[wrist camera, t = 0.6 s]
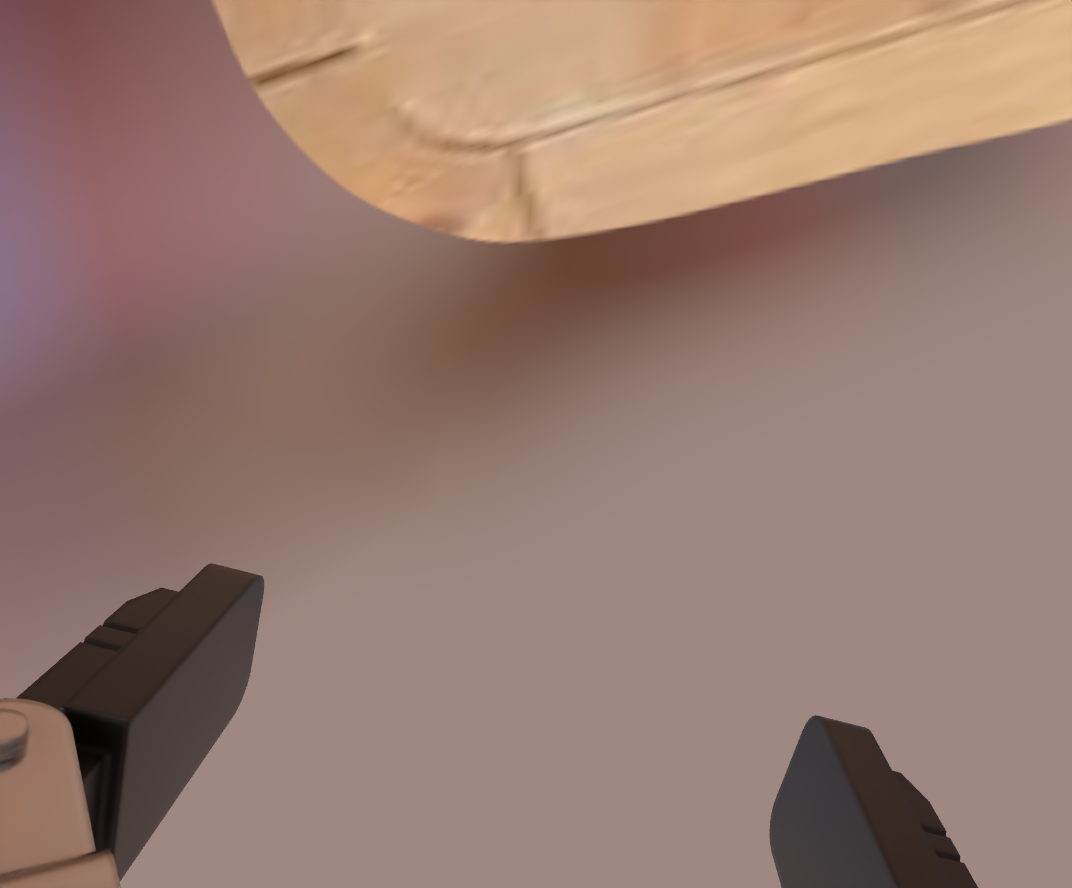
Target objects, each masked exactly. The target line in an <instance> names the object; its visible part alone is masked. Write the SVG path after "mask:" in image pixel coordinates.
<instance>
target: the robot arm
mask: <svg viewBox="0 0 1072 888" xmlns="http://www.w3.org/2000/svg"><path fill="white" fill-rule="evenodd" d="M263 592H264V580H263V577H262V576H260V575H256V574H252V573H248V572H244V571H240V570H236V569H232V568H228V567H224V566H220V565H216V564H208V565H207V566H206V567H204V568H203V569H202V570H201V571H200V572H199V573H198V574H197V575H196V576H195V577H194V578H193V579H192V580H191V581H190V582H189V583H188V584H187V585H186V586H185V587H184V588H183V589H182V590H181V591H180V592H177V591H173V590H169V589H165V588H159V589H157V590H154V591H152V592H149V593H147V594H144V595H142V596H139V597H137V598H134V599H131V600H129V601H127V602H126V603H125V604H123V605H122V606H121V607H120V608H119V609H118V610H117V611H115V612H114V613H113V614H112V615H111V616H110V617H109V618H108V619H106V620H105V621H104V624H103V626H101V625H99V627H97V628H96V629H95V630H94V631H93V632H91V633H90V634H89V635H88V636H87V637H86V638H85V641H84V642H83V643H81V642H80V643H79V644H78V645H76V646H75V647H74V648H73V649H72V650H71V651H70V652H68V653H67V654H66V655H65V656H64V657H63V658H62V659H60V660H59V661H58V662H57V663H56V664H55V665H54V666H53V667H51V668H50V669H49V670H48V671H47V672H46V673H45V674H43V675H42V676H41V677H40V678H39V679H38V680H36V681H35V682H34V683H33V684H32V685H31V686H30V687H28V688H27V689H26V690H25V691H24V692H23V693H22V694H20V695H19V696H18V697H17V698H16V699H6V698H5V699H0V888H121V887H120V881H121V879H122V878H123V876H124V875H125V873H126V872H127V870H128V869H129V867H130V866H131V865H132V863H133V862H134V860H135V859H136V857H137V856H138V854H139V853H140V852H141V850H142V849H143V847H144V846H145V844H146V843H147V841H148V840H149V838H150V837H151V835H152V834H153V833H154V831H155V829H156V828H157V827H158V825H159V824H160V822H161V821H162V819H163V818H164V817H165V815H166V814H167V812H168V811H169V809H170V808H171V806H172V805H173V803H174V802H175V800H176V799H177V798H178V796H179V794H180V793H181V792H182V790H183V789H184V787H185V786H186V784H187V783H188V782H189V780H190V779H191V777H192V776H193V774H194V773H195V771H196V770H197V768H198V767H199V765H200V764H201V762H202V761H203V760H204V758H205V757H206V755H207V754H208V752H209V751H210V749H211V748H212V746H213V745H214V744H215V742H216V741H217V739H218V738H219V736H220V734H221V733H222V732H223V730H224V729H225V727H226V726H227V725H228V723H229V722H230V720H231V719H232V717H233V715H234V714H235V712H236V711H237V709H238V707H239V705H240V702H241V700H242V697H243V695H244V692H245V690H246V686H247V683H248V679H249V676H250V672H251V666H252V660H253V654H254V648H255V642H256V635H257V630H258V623H259V617H260V612H261V605H262V599H263ZM770 845H771V851H772V855H773V858H774V862H775V865H776V869H777V872H778V876H779V879H780V883H781V887H782V888H978V887H977V885H976V883H975V881H974V880H973V878H972V876H971V874H970V873H969V871H968V869H967V867H966V866H965V864H964V863H961V862H960V855H959V853H958V851H957V850H956V848H955V846H954V845H953V843H952V841H951V839H950V838H948V837H946V830H945V828H944V827H943V825H942V823H941V821H940V820H939V818H938V816H937V814H936V813H935V811H934V809H933V807H932V805H931V804H930V802H929V801H928V800H927V799H926V798H925V797H924V796H923V795H922V794H921V793H920V792H919V791H918V790H917V789H916V788H915V787H914V786H913V785H912V784H911V783H910V782H909V781H908V780H907V779H906V778H905V777H904V776H903V775H902V774H901V773H899V772H895V771H892V770H891V768H890V766H889V764H888V762H887V760H886V758H885V757H884V755H883V753H882V751H881V749H880V747H879V745H878V744H877V742H876V740H875V738H874V736H873V734H872V733H871V731H870V730H869V729H867V728H865V727H861V726H856V725H853V724H849V723H844V722H841V721H837V720H833V719H829V718H825V717H821V716H813V717H812V718H810V719H809V720H808V722H807V723H806V725H805V727H804V729H803V731H802V734H801V736H800V739H799V741H798V744H797V746H796V749H795V751H794V754H793V757H792V759H791V761H790V764H789V767H788V769H787V772H786V774H785V777H784V779H783V782H782V784H781V787H780V789H779V792H778V794H777V797H776V800H775V802H774V805H773V809H772V814H771V821H770Z"/></svg>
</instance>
